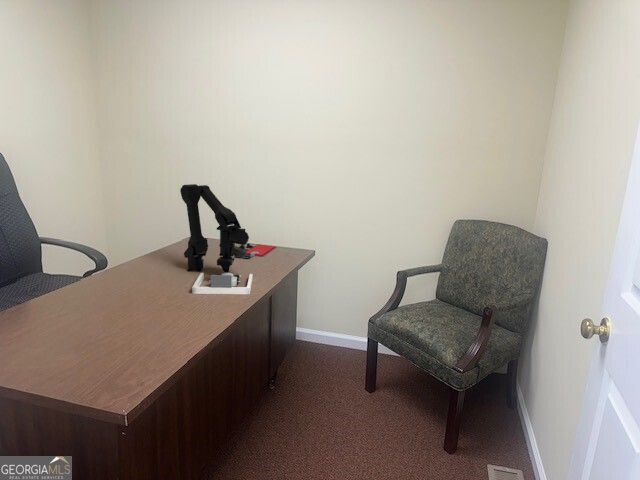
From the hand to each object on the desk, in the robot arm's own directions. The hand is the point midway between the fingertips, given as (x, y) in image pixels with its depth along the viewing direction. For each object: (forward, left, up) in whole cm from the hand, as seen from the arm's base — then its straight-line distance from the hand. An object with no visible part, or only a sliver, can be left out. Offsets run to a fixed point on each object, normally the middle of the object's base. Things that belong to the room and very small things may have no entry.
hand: (226, 275), depth 185 cm
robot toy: (+1, -8, -2) cm, 9 cm away
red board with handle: (+9, +48, -2) cm, 49 cm away
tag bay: (0, -9, -2) cm, 9 cm away
